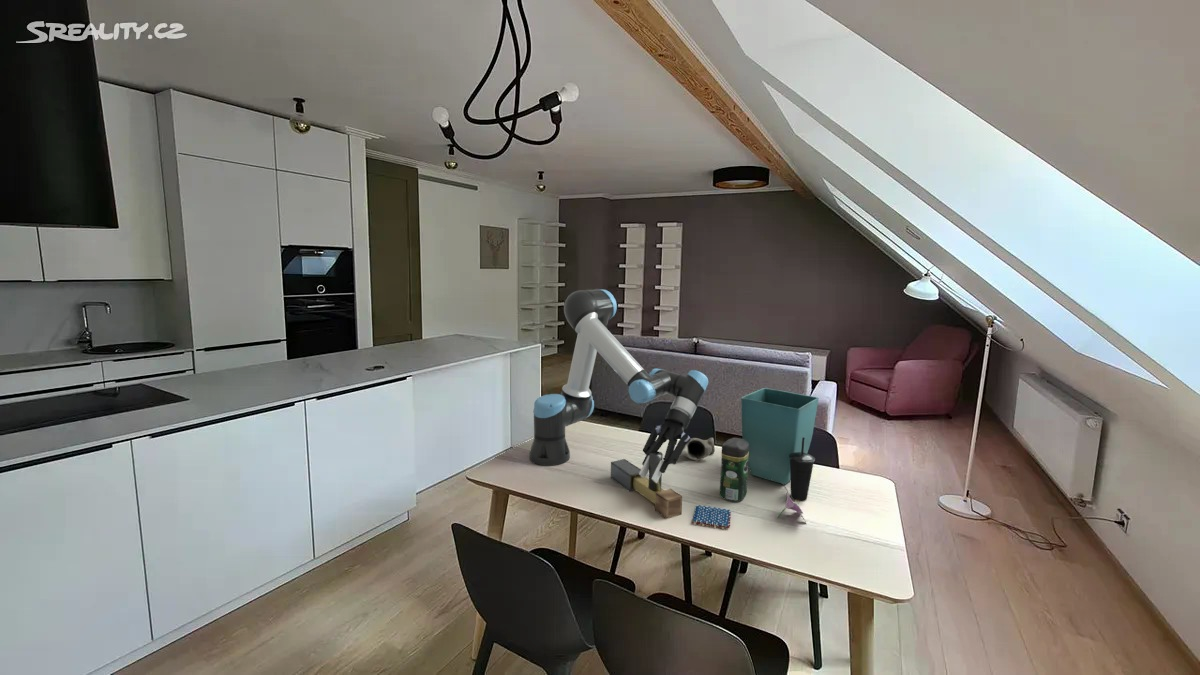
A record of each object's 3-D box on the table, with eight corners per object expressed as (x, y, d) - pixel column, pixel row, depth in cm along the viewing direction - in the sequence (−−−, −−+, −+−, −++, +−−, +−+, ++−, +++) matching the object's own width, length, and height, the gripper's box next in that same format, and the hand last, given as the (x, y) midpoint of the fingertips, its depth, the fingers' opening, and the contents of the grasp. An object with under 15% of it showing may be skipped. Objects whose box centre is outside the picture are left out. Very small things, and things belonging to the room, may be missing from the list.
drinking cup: (810, 494, 167) (815, 435, 163) (812, 504, 159) (817, 443, 156) (785, 490, 169) (790, 432, 166) (786, 500, 162) (790, 440, 159)
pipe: (685, 473, 200) (687, 467, 187) (672, 453, 204) (673, 446, 190) (720, 451, 202) (724, 443, 188) (706, 432, 206) (709, 423, 192)
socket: (655, 510, 154) (655, 492, 153) (669, 506, 157) (670, 488, 156) (666, 518, 150) (667, 500, 149) (681, 514, 152) (682, 496, 151)
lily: (799, 536, 143) (817, 507, 142) (761, 511, 148) (779, 482, 147) (801, 529, 154) (818, 502, 153) (765, 505, 159) (781, 479, 158)
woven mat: (729, 532, 144) (730, 526, 143) (691, 526, 147) (691, 520, 146) (731, 515, 153) (731, 508, 153) (695, 509, 156) (695, 503, 156)
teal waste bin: (759, 458, 195) (764, 386, 191) (813, 473, 182) (819, 396, 178) (735, 475, 180) (740, 397, 176) (792, 492, 167) (798, 409, 163)
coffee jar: (725, 487, 171) (728, 433, 168) (749, 493, 167) (752, 438, 164) (715, 498, 163) (718, 442, 160) (740, 505, 159) (744, 448, 156)
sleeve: (610, 477, 177) (610, 461, 176) (624, 474, 179) (624, 458, 178) (629, 491, 166) (630, 475, 165) (643, 488, 169) (644, 471, 168)
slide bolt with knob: (623, 481, 171) (624, 439, 169) (633, 479, 173) (634, 437, 171) (664, 511, 151) (666, 464, 149) (675, 508, 153) (677, 461, 151)
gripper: (707, 426, 161) (676, 492, 152) (662, 414, 173) (631, 475, 163) (699, 413, 157) (666, 481, 147) (654, 402, 168) (620, 464, 158)
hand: (647, 478), depth 155 cm, fingers closed on slide bolt with knob, 4 cm apart
